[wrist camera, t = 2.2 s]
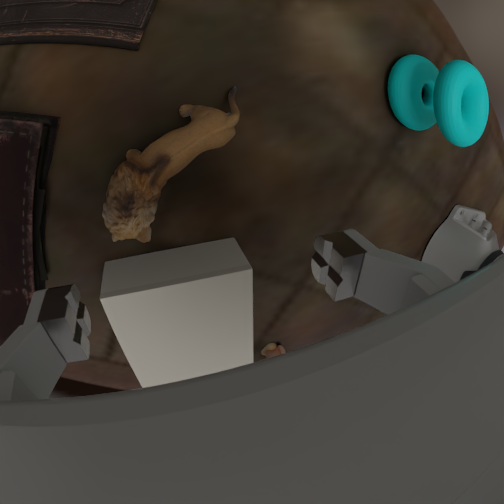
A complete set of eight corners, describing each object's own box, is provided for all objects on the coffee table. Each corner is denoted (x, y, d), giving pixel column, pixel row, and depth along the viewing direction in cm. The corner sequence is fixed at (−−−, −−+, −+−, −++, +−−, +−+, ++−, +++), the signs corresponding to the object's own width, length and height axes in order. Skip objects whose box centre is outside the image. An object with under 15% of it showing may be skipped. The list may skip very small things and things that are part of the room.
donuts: (450, 54, 17) (492, 69, 19) (380, 49, 25) (431, 59, 27) (448, 153, 22) (488, 148, 24) (383, 129, 30) (431, 126, 32)
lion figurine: (139, 216, 27) (140, 268, 19) (98, 182, 23) (79, 225, 16) (251, 106, 25) (296, 116, 17) (213, 65, 21) (246, 54, 14)
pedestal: (234, 237, 31) (252, 268, 27) (240, 354, 42) (253, 385, 37) (104, 261, 28) (99, 298, 23) (149, 373, 38) (154, 408, 34)
